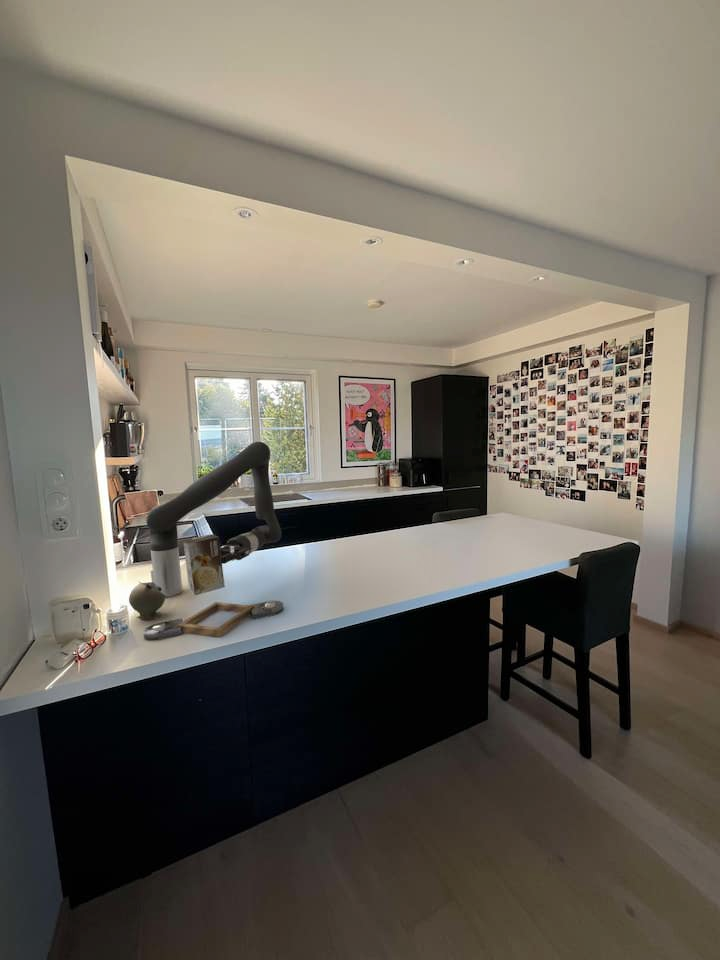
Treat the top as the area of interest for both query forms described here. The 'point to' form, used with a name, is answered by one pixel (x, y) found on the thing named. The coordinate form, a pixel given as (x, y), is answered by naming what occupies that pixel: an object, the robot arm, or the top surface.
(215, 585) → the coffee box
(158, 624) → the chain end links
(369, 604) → the top surface
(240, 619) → the wooden picture frame
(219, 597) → the top surface
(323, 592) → the top surface
